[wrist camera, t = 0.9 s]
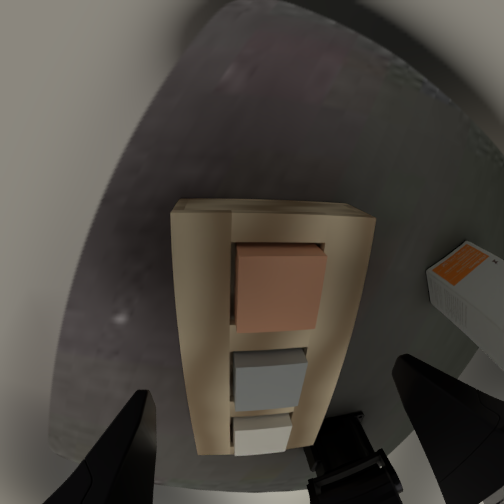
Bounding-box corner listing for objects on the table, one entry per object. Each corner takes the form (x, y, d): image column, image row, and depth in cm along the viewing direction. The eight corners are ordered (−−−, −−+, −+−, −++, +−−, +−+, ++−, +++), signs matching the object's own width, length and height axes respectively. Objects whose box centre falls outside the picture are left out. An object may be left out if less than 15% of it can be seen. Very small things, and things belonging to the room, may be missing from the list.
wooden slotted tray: (346, 203, 19) (376, 218, 15) (303, 416, 26) (313, 444, 23) (179, 198, 17) (170, 212, 13) (197, 423, 25) (198, 454, 21)
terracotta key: (313, 242, 16) (327, 256, 14) (304, 308, 18) (315, 328, 16) (235, 241, 15) (238, 256, 13) (233, 311, 17) (236, 333, 15)
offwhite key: (286, 405, 21) (292, 425, 19) (280, 433, 22) (285, 451, 20) (232, 409, 20) (235, 430, 18) (232, 436, 22) (234, 456, 20)
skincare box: (465, 237, 21) (559, 292, 10) (468, 272, 23) (549, 330, 12) (423, 269, 22) (519, 345, 11) (428, 304, 23) (508, 379, 12)
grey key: (298, 341, 18) (307, 362, 16) (290, 385, 20) (297, 406, 18) (233, 345, 18) (235, 367, 16) (232, 389, 19) (235, 411, 17)
